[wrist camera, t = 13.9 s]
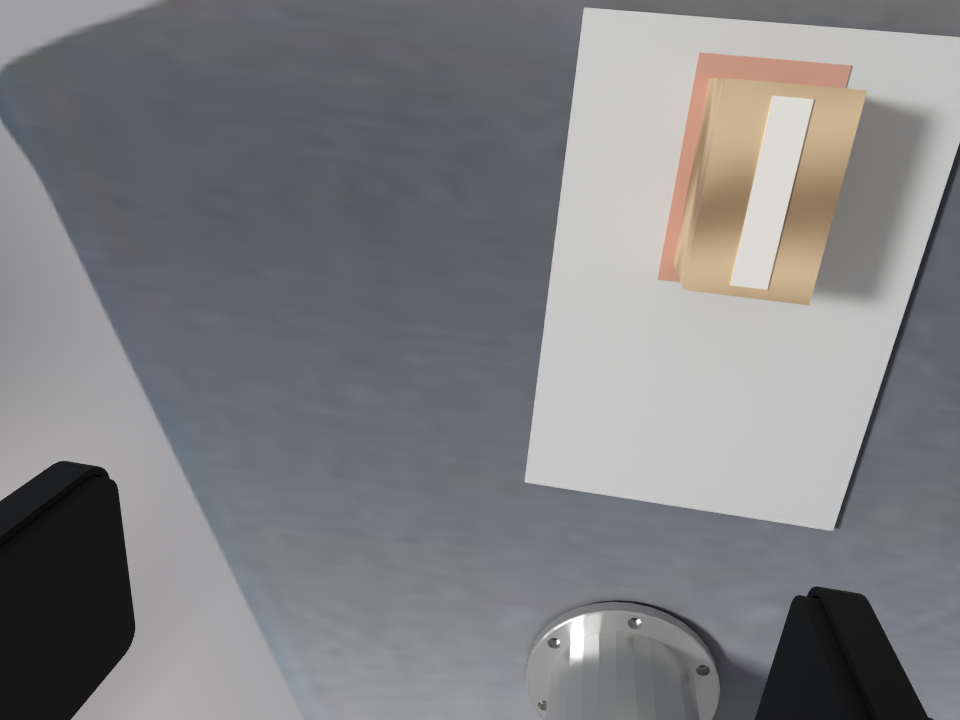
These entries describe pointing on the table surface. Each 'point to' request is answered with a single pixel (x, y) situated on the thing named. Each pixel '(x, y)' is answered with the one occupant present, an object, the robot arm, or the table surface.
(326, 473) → the table surface
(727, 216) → the card box
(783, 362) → the mat
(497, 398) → the table surface
